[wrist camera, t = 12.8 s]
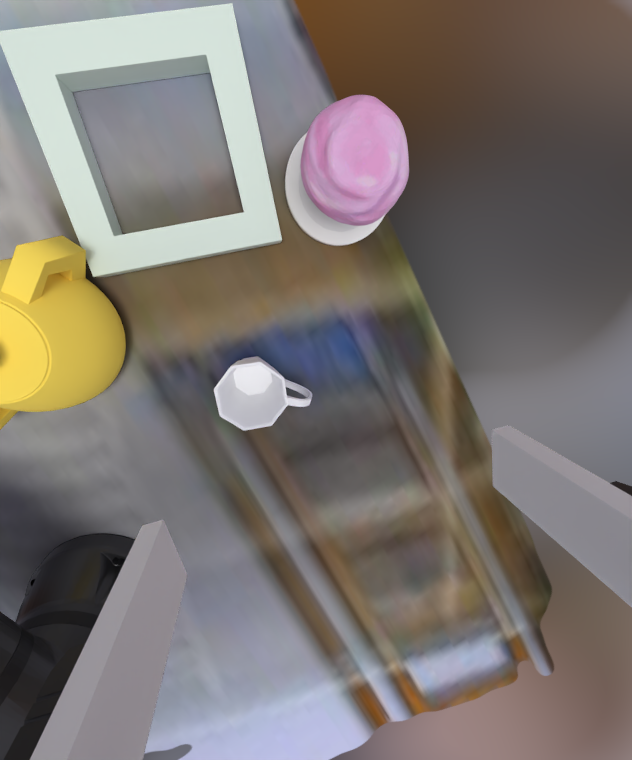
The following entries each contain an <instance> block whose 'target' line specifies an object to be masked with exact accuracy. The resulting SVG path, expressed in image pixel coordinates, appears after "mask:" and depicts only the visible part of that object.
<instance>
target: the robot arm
mask: <svg viewBox="0 0 632 760" xmlns="http://www.w3.org/2000/svg"><path fill="white" fill-rule="evenodd" d="M492 466H493V487H495V488H496V489H497V490H498V491H499V492H500V493H501V494H503V495H504V496H505V497H506V498H507V499H508V500H509V501H511V502H512V503H513V504H514V505H515V506H516V507H517V508H519V509H520V510H521V511H522V512H523V513H524V514H525V515H527V516H528V517H529V518H530V519H531V520H532V521H533V522H535V523H536V524H537V525H538V526H539V527H540V528H542V529H543V530H544V531H545V532H546V533H547V534H548V535H550V536H551V537H552V538H553V539H554V540H555V541H556V542H557V543H559V544H560V545H561V546H562V547H563V548H564V549H566V550H567V551H568V552H569V553H570V554H571V555H573V556H574V557H575V558H576V559H577V560H578V561H579V562H580V563H582V564H583V565H584V566H585V567H586V568H587V569H588V570H590V571H591V572H592V573H593V574H594V575H595V576H596V577H598V578H599V579H600V580H601V581H602V582H603V583H604V584H606V585H607V586H608V587H609V588H610V589H611V590H612V591H614V592H615V593H616V594H617V595H618V596H619V597H620V598H622V599H623V600H624V601H625V602H626V603H627V604H628V605H630V606H631V607H632V486H628V485H626V484H623V483H620V482H617V481H616V482H612V483H608V482H606V481H605V480H603V479H601V478H599V477H598V476H596V475H594V474H593V473H591V472H589V471H587V470H586V469H584V468H582V467H580V466H579V465H577V464H575V463H573V462H572V461H570V460H568V459H566V458H564V457H563V456H561V455H560V454H558V453H556V452H554V451H553V450H551V449H549V448H547V447H546V446H544V445H542V444H540V443H538V442H537V441H535V440H533V439H532V438H530V437H528V436H526V435H525V434H523V433H521V432H519V431H518V430H516V429H514V428H513V427H511V426H509V425H508V426H504V427H501V428H498V429H494V430H492ZM187 576H188V575H187V573H186V570H185V568H184V566H183V563H182V561H181V559H180V556H179V554H178V552H177V549H176V547H175V545H174V542H173V540H172V538H171V535H170V533H169V531H168V528H167V526H166V524H165V521H164V519H163V520H160V521H156V522H152V523H149V524H145V525H142V527H141V529H140V531H139V533H138V535H137V537H136V539H135V541H134V540H132V539H129V538H125V537H121V536H116V535H107V534H97V535H88V536H83V537H79V538H75V539H72V540H70V541H68V542H65V543H63V544H62V545H60V546H58V547H57V548H56V549H54V550H53V551H52V552H51V553H50V554H49V555H48V556H47V557H46V558H45V559H44V561H43V562H42V563H41V565H40V566H39V567H38V568H37V570H36V571H35V573H34V574H33V576H32V578H31V579H30V581H29V584H28V587H27V590H26V594H25V598H24V600H23V603H22V605H21V608H20V610H19V613H18V616H17V619H16V622H14V621H13V620H11V619H10V618H8V617H7V616H6V615H4V614H3V613H1V612H0V760H143V756H144V752H145V748H146V744H147V740H148V736H149V731H150V727H151V723H152V719H153V715H154V711H155V707H156V703H157V699H158V695H159V690H160V686H161V682H162V678H163V674H164V670H165V666H166V662H167V658H168V654H169V649H170V645H171V641H172V637H173V633H174V629H175V625H176V621H177V617H178V613H179V608H180V604H181V600H182V596H183V592H184V588H185V584H186V580H187Z"/></svg>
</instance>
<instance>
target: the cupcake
mask: <svg viewBox="0 0 632 760" xmlns="http://www.w3.org/2000/svg"><path fill="white" fill-rule="evenodd" d="M300 168H301V177H302V182H303V185H304V188H305V191H306V193H307V195H308V196H309V198H310V199H311V201H312V202H313V203H314V204H315V205H316V206H317V208H318V209H319V210H320V211H321V212H323V213H324V214H325V215H326V216H328V217H330V218H332V219H334V220H336V221H338V222H340V223H344V224H348V225H353V226H363V225H368V224H371V223H374V222H375V221H377V220H379V219H380V218H381V217H383V216H384V215H385V214H386V213H387V212H388V211H389V210H390V209H391V208H392V206H393V205H394V204H395V203H396V201H397V200H398V198H399V196H400V195H401V193H402V192H403V190H404V188H405V185H406V183H407V180H408V175H409V160H408V147H407V140H406V136H405V132H404V128H403V126H402V124H401V121H400V120H399V118H398V117H397V116H396V114H395V113H394V112H393V111H391V109H389V108H388V107H387V106H386V105H384V104H383V103H382V102H381V101H380V100H378V99H377V98H375V97H373V96H369V95H355V96H350V97H347V98H345V99H342V100H340V101H337V102H335V103H333V104H331V105H330V106H328V107H327V108H325V109H324V110H323V111H321V112H320V113H319V114H318V115H317V117H316V118H315V119H314V120H313V122H312V124H311V126H310V127H309V130H308V132H307V135H306V138H305V141H304V145H303V150H302V155H301V164H300Z"/></svg>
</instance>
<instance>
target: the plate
mask: <svg viewBox="0 0 632 760" xmlns="http://www.w3.org/2000/svg"><path fill="white" fill-rule="evenodd" d="M306 135H307V133H306V134H305V135H304V136H303V137H302V138H301V139H300V140H299V141H298V143H297V144H296V146H295V147H294V149H293V151H292V153H291V156H290V159H289V162H288V165H287V170H286V174H285V195H286V201H287V204H288V208H289V210H290V213H291V215H292V217H293V219H294V220H295V222H296V223H297V225H298V226H299V227H300V228H301V229H302V231H303V232H304V233H306V234H307V235H308V236H309V237H311V238H312V239H314V240H316V241H318V242H320V243H323V244H326V245H331V246H344V245H349V244H352V243H355V242H357V241H359V240H362V239H363V238H365V237H366V236H368V235H369V234H370V233H372V232H373V231H374V230H375V229H376V228H377V227H378V225H379V224H380V222H381V221H382V219H383V218H384V216H385V215H384V216H383V217H381V218H380V219H379V220H377V221H375V222H374V223H371V224H368V225H363V226H353V225H348V224H344V223H340V222H338V221H336V220H334V219H332V218H330V217H328V216H326V215H325V214H324V213H323V212H321V211H320V210H319V209H318V208H317V206H316V205H315V204H314V203H313V202H312V201H311V199H310V198H309V196H308V195H307V193H306V191H305V188H304V185H303V182H302V177H301V168H300V164H301V155H302V150H303V145H304V141H305V138H306Z"/></svg>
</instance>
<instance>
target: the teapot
mask: <svg viewBox="0 0 632 760" xmlns="http://www.w3.org/2000/svg"><path fill="white" fill-rule="evenodd" d="M125 349H126V340H125V333H124V328H123V325H122V322H121V319H120V317H119V315H118V313H117V311H116V309H115V308H114V306H113V305H112V303H111V302H110V300H109V299H108V298H107V297H106V296H105V294H104V293H103V292H101V291H100V290H99V289H98V288H97V287H96V286H95V285H94V284H93V283H91V282H90V281H89V280H87V279H86V250H85V249H83V248H81V247H80V246H78V245H77V244H75V243H74V242H72V241H70V240H69V239H67V238H66V237H64V236H58V237H53V238H49V239H44V240H40V241H35V242H30V243H26V244H21V245H17V246H16V249H15V252H14V255H13V257H12V259H5V260H0V430H1V429H2V427H3V426H4V425H5V424H6V423H7V422H8V421H9V420H10V419H11V418H12V417H13V416H14V415H15V414H16V413H17V412H18V411H25V412H43V411H54V410H59V409H64V408H69V407H72V406H75V405H78V404H81V403H84V402H86V401H88V400H90V399H92V398H94V397H95V396H97V395H98V394H100V393H102V392H103V391H104V390H105V389H106V388H108V387H109V386H110V385H111V383H112V382H113V381H114V380H115V378H116V377H117V375H118V373H119V372H120V369H121V367H122V365H123V361H124V357H125Z"/></svg>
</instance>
